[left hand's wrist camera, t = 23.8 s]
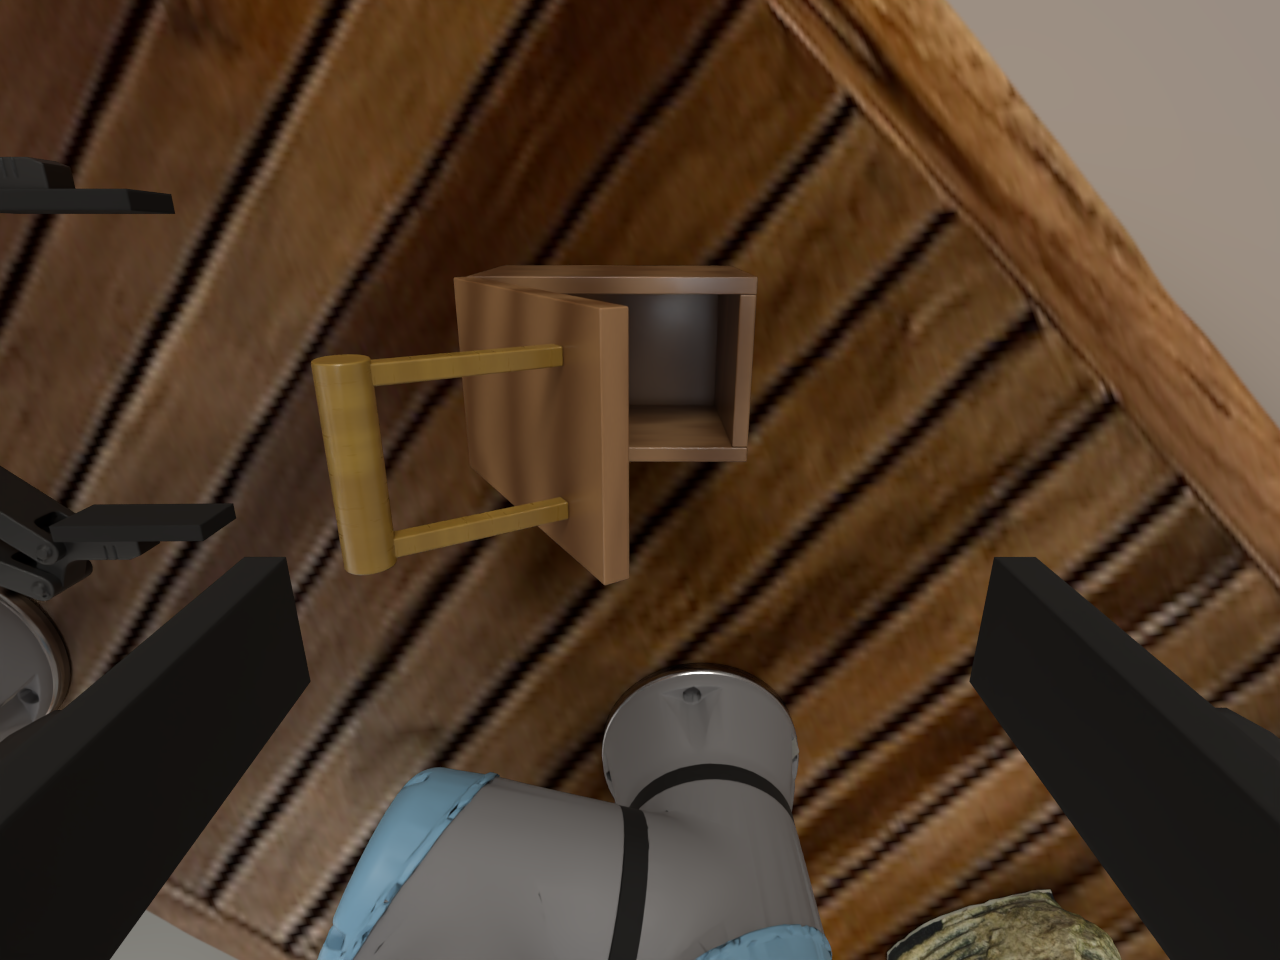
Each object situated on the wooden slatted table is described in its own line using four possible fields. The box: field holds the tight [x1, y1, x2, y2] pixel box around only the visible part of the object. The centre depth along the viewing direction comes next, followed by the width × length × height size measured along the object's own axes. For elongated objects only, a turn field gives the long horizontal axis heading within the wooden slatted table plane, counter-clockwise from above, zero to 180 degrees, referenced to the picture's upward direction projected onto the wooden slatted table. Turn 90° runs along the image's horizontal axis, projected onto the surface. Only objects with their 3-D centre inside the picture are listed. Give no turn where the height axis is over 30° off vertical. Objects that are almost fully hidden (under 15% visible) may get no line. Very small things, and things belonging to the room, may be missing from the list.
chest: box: [467, 265, 758, 462], centre depth 40 cm, size 14×9×10 cm
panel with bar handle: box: [311, 277, 629, 585], centre depth 27 cm, size 15×9×9 cm
